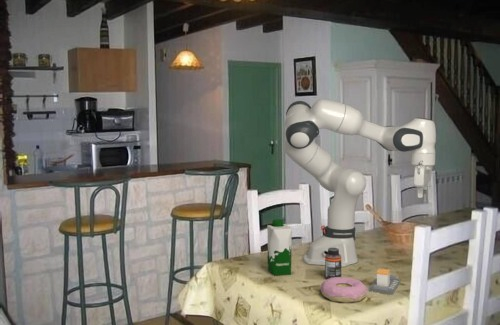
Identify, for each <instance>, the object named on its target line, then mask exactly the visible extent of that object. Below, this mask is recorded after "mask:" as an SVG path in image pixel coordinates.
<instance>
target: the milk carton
mask: <svg viewBox="0 0 500 325" xmlns="http://www.w3.org/2000/svg"><path fill="white" fill-rule="evenodd" d="M266 228H267V229H266V230H267V270H268V272H269V273H270V274H271V275H272V276H273V275H274V277H277V276H278V277H279V276H287V275H292V237H293V236H292V235H293V234H292V233H293V228H292V227H291V226H289V225H288V224H285V223H284V220H283V219H278V218H277V219H273V220H272V224H269V225H268V224H267V227H266Z"/></svg>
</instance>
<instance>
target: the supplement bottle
mask: <svg viewBox="0 0 500 325" xmlns="http://www.w3.org/2000/svg"><path fill="white" fill-rule="evenodd" d="M324 269H325V270H324V273H325V274H324V275H325V280H327V279H330V278H334V277H342V267H341V255H340V254H339V249H338V248H328V253H327V254H326V255H325V265H324Z"/></svg>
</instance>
